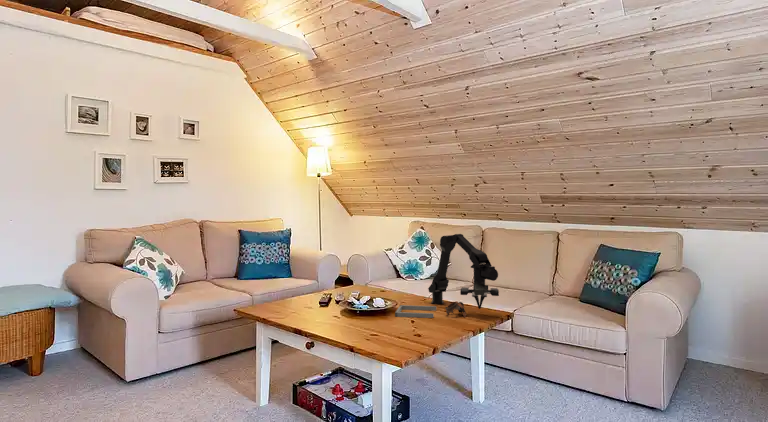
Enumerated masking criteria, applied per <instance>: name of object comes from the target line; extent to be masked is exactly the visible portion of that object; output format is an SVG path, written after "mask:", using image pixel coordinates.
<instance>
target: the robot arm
mask: <svg viewBox="0 0 768 422" xmlns="http://www.w3.org/2000/svg"><path fill="white" fill-rule="evenodd" d="M456 244H458V246H459V247H460V248H461V249H462V250H464V252H466V254H467V255H468V258H469V260H470V262H471V263H472V265H471V266H470V268H471V269H473V286H472V289H471V288H470V289H469V287H465V286H464V287H460V292H459V293H460V295H461V296H467V295H469V294H471V297H472V298H474V299H475V302H476V304H477V308H478V310H479V309H480V310H481V308H482V306H483V302H484V299H486V298H487V297H488V294H489V295H491V296H492V297H498V296H500V295H499V294H500V291H499V289H498V288H497V287H496V288H495V287H494V288H493V287H490V289H489V285H487V284H486V280H488V281H497V279H498V278H499V272H498V270H497V269H496V266H494V265H493V266H492V264H491V262H490V260H489V258H488V255H487V253H486V252H484V251H483V250H482V249H478V248H477V247H475V246H474V244H472V243H471V242H470V241H469V240H468V239H467V238H466V237H465V236H464V234H462V233H455V234H449V235H448V234H447V235H442V236H441V237H440V241H439V247H440V248H441V252H440V258H439V261H438V266H437V267H438V268H437V273H436V274H435V276H434V277H433V279H432V281H431V284H430V285H429V287H428V288H427V290H428V293H431V294H432V296H431V298H432V299H431V302H430V304H432V305H443V304H444V300H443V296H444V295H443V293H444V292H445V293H446V291H447V288H448V287H449V279H448V277H447V273H448V268H449V263H450V258H451V253H452V251H453V250H454V249H455V247H456ZM479 296H480V299H479Z"/></svg>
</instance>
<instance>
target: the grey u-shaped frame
mask: <svg viewBox="0 0 768 422" xmlns="http://www.w3.org/2000/svg"><path fill="white" fill-rule="evenodd" d="M403 310H405V311H406V310H408V311H411V310H412V311H433V312H435V311H437V306H436V305H433V306H432V305H411V304H410V305H408V304H405V305H404V304H403V305H402V304H400V305H399V306H398V308H396V310H395V312H394V317H395V318H396V317H397V318H399V317H400V318H426V319H427V318H428V319H434V316H435V315H434V313H433V312H428V313H427V312H404V311H403ZM402 311H403V312H402Z"/></svg>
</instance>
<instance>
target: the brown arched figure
mask: <svg viewBox="0 0 768 422" xmlns="http://www.w3.org/2000/svg"><path fill="white" fill-rule="evenodd" d="M445 310H446V312H445V313H446V314H447V315H450V314H451V313H453V314H454V310H455V311H458V313H462V316H463V318H466V317H467V312H466V309H465V304H464V303H463V301H452V302H451V303H449V304H448V305H447V306H445Z"/></svg>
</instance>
